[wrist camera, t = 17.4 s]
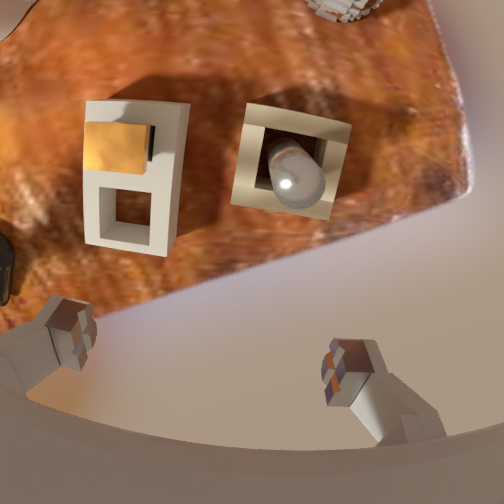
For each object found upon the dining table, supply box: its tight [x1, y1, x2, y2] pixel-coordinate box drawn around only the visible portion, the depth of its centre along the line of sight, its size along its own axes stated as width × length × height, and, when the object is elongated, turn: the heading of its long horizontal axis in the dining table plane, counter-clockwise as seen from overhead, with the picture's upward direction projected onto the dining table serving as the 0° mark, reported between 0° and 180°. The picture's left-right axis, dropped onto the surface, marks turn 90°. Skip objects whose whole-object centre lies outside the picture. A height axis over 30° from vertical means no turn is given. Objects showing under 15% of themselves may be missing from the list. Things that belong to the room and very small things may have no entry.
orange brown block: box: [83, 121, 156, 175], centre depth 29 cm, size 4×6×7 cm
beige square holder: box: [230, 102, 352, 220], centre depth 32 cm, size 10×10×5 cm
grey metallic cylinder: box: [267, 138, 326, 209], centre depth 29 cm, size 4×4×12 cm
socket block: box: [83, 99, 191, 257], centre depth 33 cm, size 16×10×5 cm, turn 170°
